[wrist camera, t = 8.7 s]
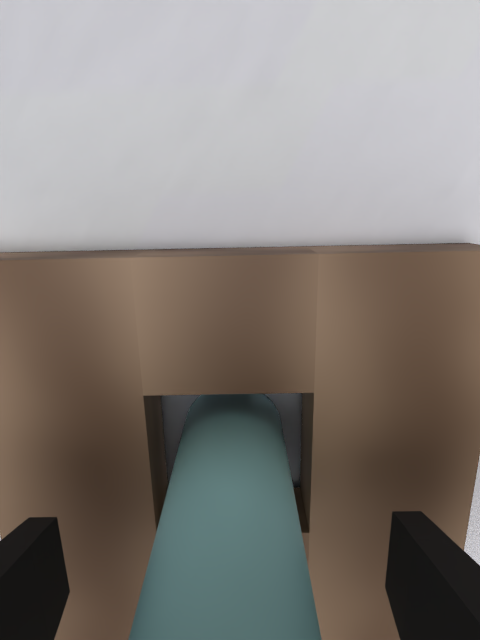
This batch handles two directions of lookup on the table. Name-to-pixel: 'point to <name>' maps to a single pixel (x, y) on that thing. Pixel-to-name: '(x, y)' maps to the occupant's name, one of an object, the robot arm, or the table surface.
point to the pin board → (239, 378)
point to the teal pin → (228, 534)
